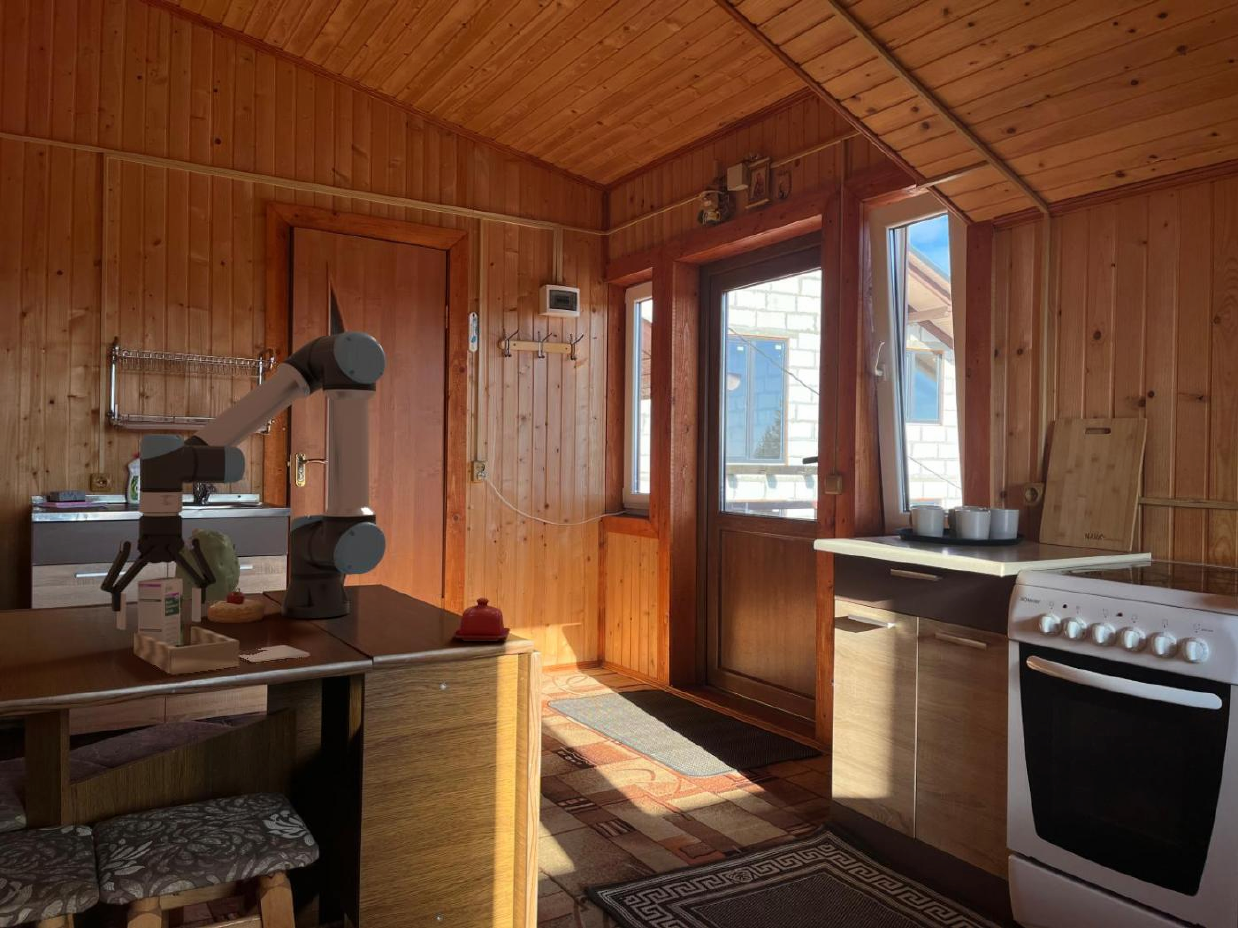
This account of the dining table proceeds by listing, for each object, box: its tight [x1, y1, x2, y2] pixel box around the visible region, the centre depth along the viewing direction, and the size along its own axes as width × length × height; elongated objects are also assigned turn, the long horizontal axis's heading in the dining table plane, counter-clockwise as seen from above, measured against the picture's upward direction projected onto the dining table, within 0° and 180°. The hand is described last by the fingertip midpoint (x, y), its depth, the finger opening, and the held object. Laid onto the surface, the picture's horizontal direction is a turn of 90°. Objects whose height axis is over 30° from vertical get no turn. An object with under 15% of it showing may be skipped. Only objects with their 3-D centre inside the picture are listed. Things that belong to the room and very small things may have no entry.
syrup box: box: [137, 576, 184, 647], centre depth 181 cm, size 6×6×14 cm
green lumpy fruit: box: [174, 528, 241, 601], centre depth 239 cm, size 16×19×20 cm
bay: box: [133, 626, 240, 675], centre depth 171 cm, size 20×11×5 cm, turn 44°
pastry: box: [207, 587, 266, 624], centre depth 212 cm, size 12×12×9 cm
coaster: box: [239, 644, 311, 662], centre depth 179 cm, size 11×11×1 cm
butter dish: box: [453, 597, 511, 642], centre depth 201 cm, size 12×12×8 cm
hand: (159, 624), depth 181 cm, fingers open, 13 cm apart
